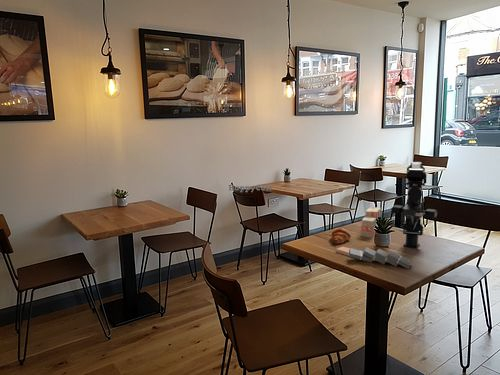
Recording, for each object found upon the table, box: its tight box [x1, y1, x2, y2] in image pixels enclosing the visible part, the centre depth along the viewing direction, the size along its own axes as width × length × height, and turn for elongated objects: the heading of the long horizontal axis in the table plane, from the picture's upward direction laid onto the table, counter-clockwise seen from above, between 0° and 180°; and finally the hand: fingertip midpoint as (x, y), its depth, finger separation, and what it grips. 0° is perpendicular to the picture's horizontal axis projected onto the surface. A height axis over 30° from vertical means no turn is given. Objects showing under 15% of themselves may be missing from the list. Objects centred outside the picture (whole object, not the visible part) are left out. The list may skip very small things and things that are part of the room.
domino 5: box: [387, 250, 413, 270], centre depth 168 cm, size 5×2×10 cm
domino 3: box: [363, 246, 387, 265], centre depth 173 cm, size 5×2×10 cm
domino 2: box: [348, 247, 374, 263], centre depth 175 cm, size 5×2×10 cm
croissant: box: [330, 227, 351, 244], centre depth 206 cm, size 21×10×8 cm, turn 154°
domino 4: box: [375, 248, 399, 267], centre depth 171 cm, size 5×2×10 cm
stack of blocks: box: [360, 206, 382, 238], centre depth 217 cm, size 21×6×12 cm, turn 151°
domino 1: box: [335, 246, 351, 257], centre depth 183 cm, size 5×2×14 cm
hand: (412, 229), depth 176 cm, fingers closed
